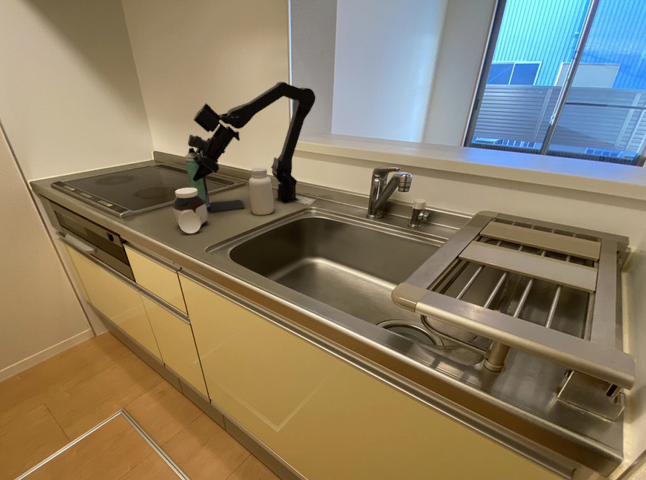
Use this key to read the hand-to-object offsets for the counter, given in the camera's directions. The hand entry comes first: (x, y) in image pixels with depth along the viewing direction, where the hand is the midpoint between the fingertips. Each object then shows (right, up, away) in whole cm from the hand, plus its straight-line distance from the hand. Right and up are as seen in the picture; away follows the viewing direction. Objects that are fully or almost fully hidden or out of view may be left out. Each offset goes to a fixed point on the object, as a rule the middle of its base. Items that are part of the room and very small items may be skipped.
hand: (193, 178), depth 121 cm
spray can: (+2, -8, +6) cm, 10 cm away
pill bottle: (+24, -11, +4) cm, 27 cm away
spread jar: (+3, -19, -8) cm, 21 cm away
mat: (+9, -7, +10) cm, 15 cm away
